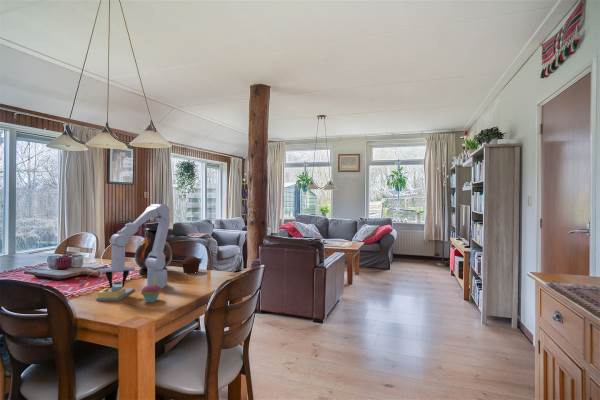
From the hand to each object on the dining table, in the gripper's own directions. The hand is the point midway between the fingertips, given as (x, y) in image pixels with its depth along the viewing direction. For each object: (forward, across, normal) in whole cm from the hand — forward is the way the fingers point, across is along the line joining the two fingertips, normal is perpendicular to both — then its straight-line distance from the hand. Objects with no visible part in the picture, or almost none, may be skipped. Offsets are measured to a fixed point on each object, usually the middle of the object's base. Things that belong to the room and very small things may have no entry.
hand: (117, 287), depth 152 cm
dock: (+4, 0, 0) cm, 4 cm away
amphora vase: (+4, -18, -44) cm, 48 cm away
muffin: (+4, -40, -36) cm, 54 cm away
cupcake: (+4, -14, +15) cm, 21 cm away
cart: (+2, 0, 0) cm, 2 cm away
